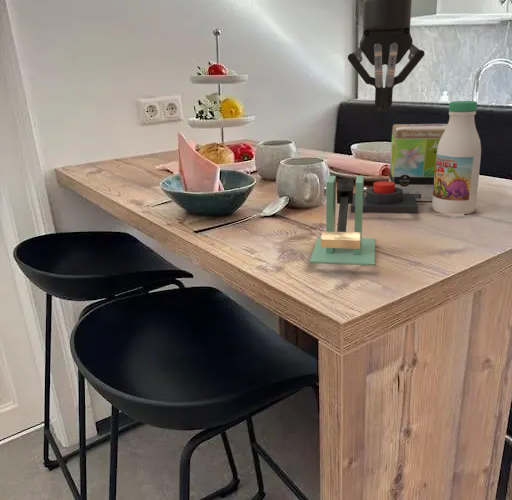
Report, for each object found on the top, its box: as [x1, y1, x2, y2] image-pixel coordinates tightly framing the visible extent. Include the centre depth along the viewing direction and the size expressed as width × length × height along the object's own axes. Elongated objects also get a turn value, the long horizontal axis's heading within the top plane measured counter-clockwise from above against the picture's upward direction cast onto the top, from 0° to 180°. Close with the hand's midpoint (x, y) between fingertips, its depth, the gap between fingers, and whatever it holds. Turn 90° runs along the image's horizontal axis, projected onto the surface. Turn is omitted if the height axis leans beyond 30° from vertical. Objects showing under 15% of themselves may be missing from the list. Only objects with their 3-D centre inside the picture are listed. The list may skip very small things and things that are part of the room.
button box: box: [350, 186, 419, 215], centre depth 97 cm, size 12×10×4 cm
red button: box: [372, 180, 395, 193], centre depth 96 cm, size 4×4×2 cm
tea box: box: [388, 123, 448, 202], centre depth 103 cm, size 15×10×15 cm, turn 80°
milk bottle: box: [431, 100, 482, 215], centre depth 92 cm, size 8×8×20 cm
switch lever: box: [320, 178, 361, 249], centre depth 68 cm, size 12×5×2 cm, turn 167°
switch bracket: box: [309, 175, 376, 267], centre depth 73 cm, size 11×9×12 cm
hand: (382, 110), depth 87 cm, fingers closed
